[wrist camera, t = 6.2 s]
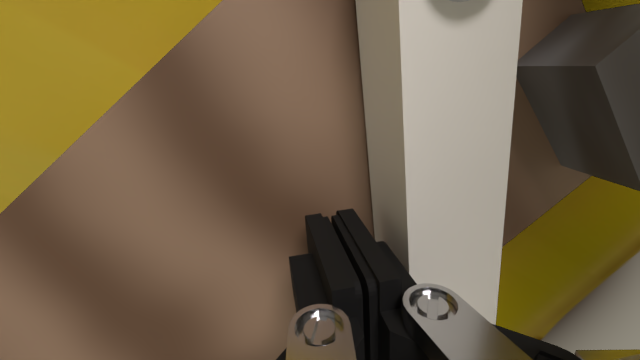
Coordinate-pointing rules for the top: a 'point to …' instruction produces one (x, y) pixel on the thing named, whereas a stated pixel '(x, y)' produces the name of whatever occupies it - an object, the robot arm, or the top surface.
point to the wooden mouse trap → (270, 177)
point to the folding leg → (441, 135)
